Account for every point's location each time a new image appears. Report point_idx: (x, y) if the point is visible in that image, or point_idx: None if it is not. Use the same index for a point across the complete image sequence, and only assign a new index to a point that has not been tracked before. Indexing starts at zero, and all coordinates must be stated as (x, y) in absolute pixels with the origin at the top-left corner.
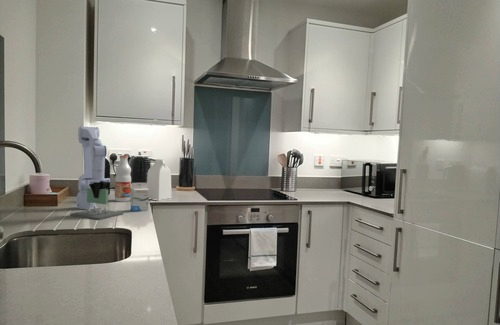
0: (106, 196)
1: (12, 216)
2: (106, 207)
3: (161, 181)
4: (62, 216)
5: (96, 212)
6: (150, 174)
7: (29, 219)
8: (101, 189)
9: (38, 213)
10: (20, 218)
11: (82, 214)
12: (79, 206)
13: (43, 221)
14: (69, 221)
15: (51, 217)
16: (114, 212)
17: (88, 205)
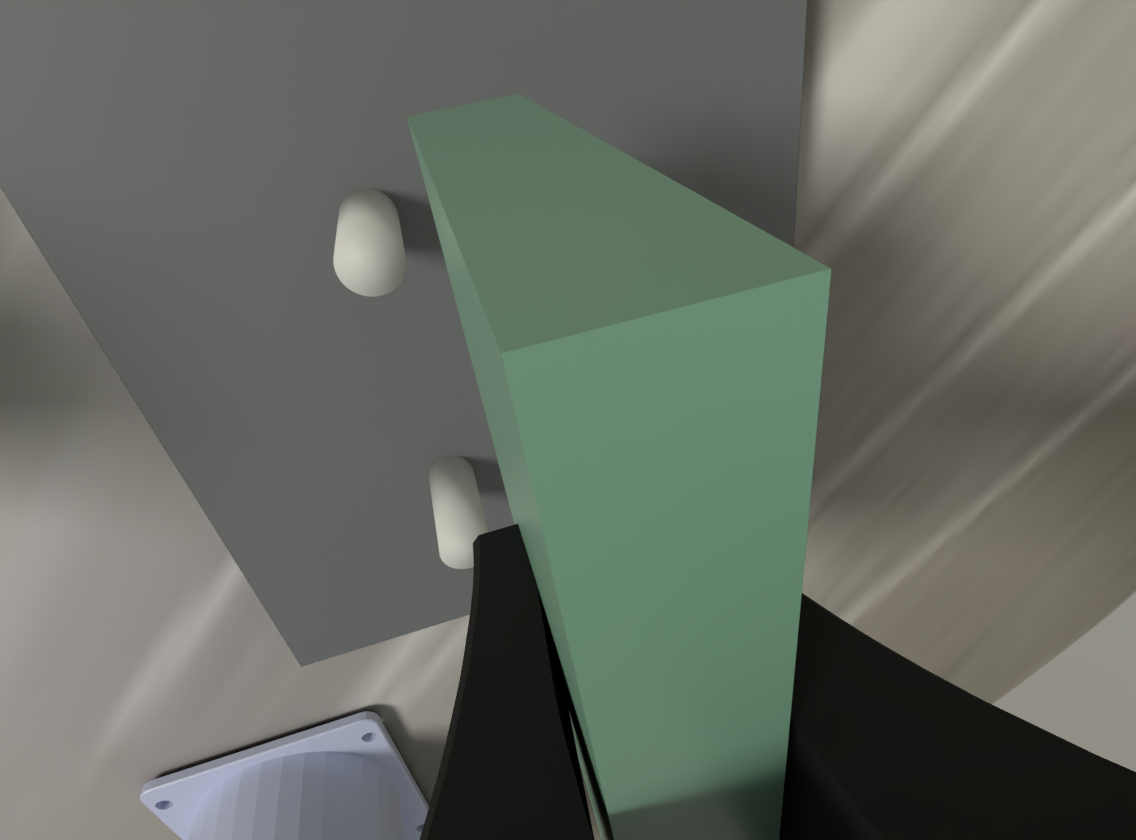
0: (563, 153)
1: (1004, 682)
2: (370, 229)
3: None
4: (838, 505)
5: (473, 398)
6: None
7: (1073, 526)
8: (738, 711)
9: None
10: (1054, 595)
11: None
12: (405, 837)
13: (1131, 368)
14: (1068, 151)
15: (930, 514)
16: (129, 151)
17: (345, 797)
